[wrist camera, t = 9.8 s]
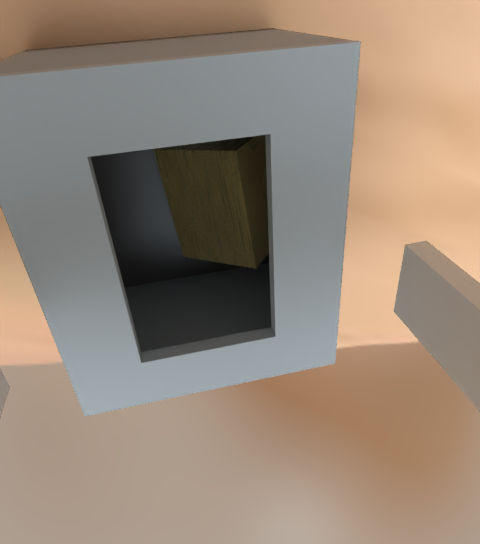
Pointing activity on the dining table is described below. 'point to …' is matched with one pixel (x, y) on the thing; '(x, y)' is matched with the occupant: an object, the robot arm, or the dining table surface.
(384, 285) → the dining table surface
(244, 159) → the rectangular block
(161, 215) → the grey box with opening
